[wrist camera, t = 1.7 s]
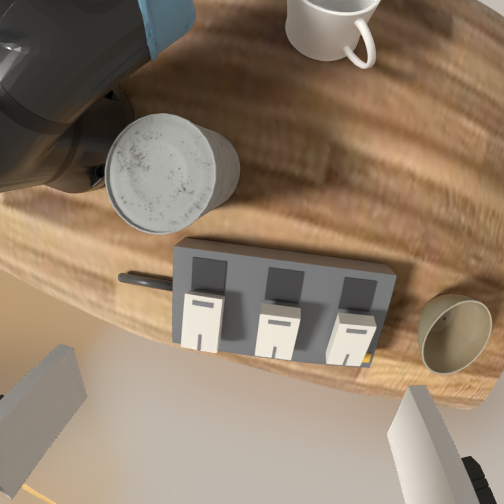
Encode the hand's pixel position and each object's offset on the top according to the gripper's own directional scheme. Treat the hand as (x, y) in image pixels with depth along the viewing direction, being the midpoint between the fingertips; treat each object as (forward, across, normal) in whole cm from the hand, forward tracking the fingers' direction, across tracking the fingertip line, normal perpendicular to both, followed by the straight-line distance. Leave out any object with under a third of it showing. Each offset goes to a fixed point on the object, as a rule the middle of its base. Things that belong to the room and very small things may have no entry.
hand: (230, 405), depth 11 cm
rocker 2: (+21, +2, -9) cm, 23 cm away
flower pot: (+27, +23, -8) cm, 36 cm away
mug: (+27, +6, +24) cm, 36 cm away
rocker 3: (+21, +10, -9) cm, 25 cm away
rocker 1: (+21, -6, -8) cm, 23 cm away
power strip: (+27, -2, -7) cm, 28 cm away
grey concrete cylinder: (+27, -8, +7) cm, 29 cm away
